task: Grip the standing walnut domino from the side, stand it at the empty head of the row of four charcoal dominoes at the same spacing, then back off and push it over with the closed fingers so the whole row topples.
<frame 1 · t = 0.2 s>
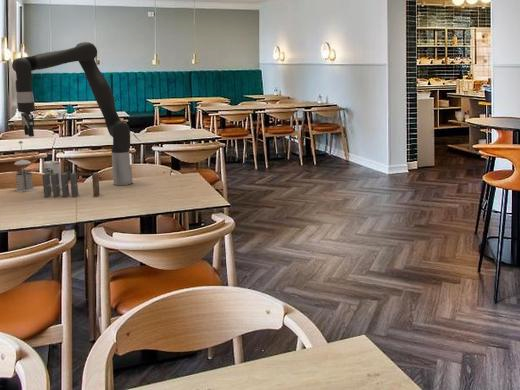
hand: (29, 135, 269), 29 cm above the table, tool pointing down, fingers open, 8 cm apart
syrup box: (54, 190, 286), on the table
walnut tile: (96, 195, 272), on the table
charcoal tile 5: (47, 196, 271), on the table
charcoal tile 3: (66, 196, 271), on the table
charcoal tile 4: (56, 196, 271), on the table
french press: (25, 190, 286), on the table
charcoal tile 2: (75, 195, 271), on the table
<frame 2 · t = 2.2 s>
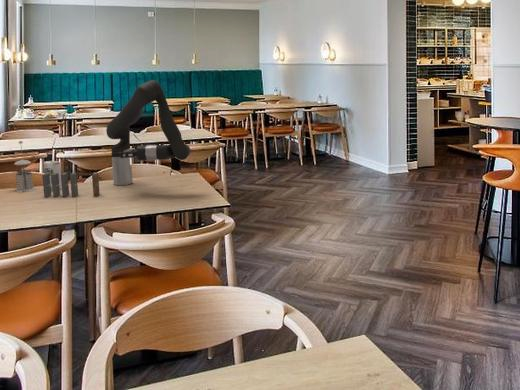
hand: (114, 153, 268), 20 cm above the table, tool horizontal, fingers open, 8 cm apart
nothing on the table moved.
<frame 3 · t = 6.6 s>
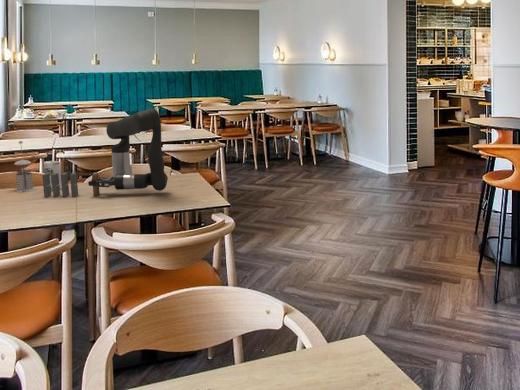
hand: (90, 182, 270), 6 cm above the table, tool horizontal, fingers closed on walnut tile, 5 cm apart
walnut tile: (96, 195, 272), on the table, touching gripper
everything else where it was.
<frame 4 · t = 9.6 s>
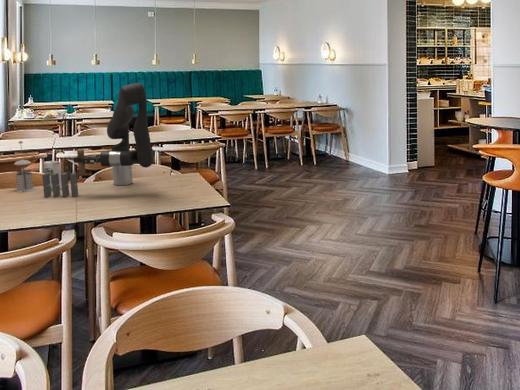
hand: (75, 159, 268), 18 cm above the table, tool horizontal, fingers closed on walnut tile, 5 cm apart
walnut tile: (82, 172, 269), point 11 cm above the table, touching gripper
everything else where it was.
when the fingers open (7 cm above the table, at t = 12.3 s): walnut tile stays where it is, on the table.
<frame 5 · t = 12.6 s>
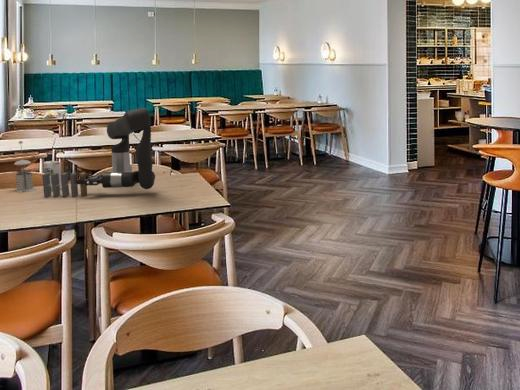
hand: (78, 180, 270), 8 cm above the table, tool horizontal, fingers open, 7 cm apart
walnut tile: (84, 195, 272), on the table
everything else where it was.
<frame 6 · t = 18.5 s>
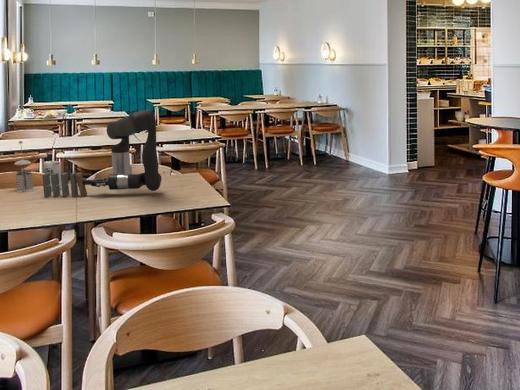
hand: (83, 182, 270), 7 cm above the table, tool horizontal, fingers closed
walnut tile: (84, 195, 272), on the table, tilted 10°
everything else where it was.
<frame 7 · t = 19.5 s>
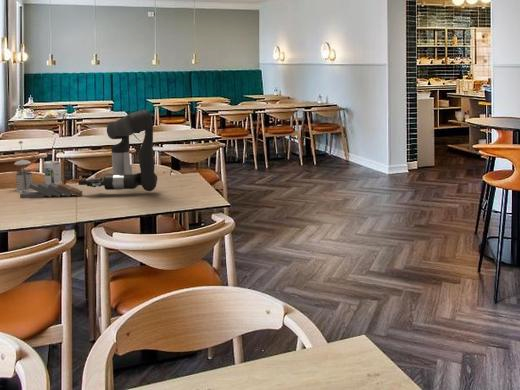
hand: (78, 182, 270), 6 cm above the table, tool horizontal, fingers closed
walnut tile: (80, 194, 272), point 1 cm above the table, tilted 65°, touching charcoal tile 2
charcoal tile 5: (45, 194, 271), point 1 cm above the table, tilted 89°, touching charcoal tile 4
charcoal tile 3: (61, 194, 271), point 1 cm above the table, tilted 63°, touching charcoal tile 2, charcoal tile 4
charcoal tile 4: (52, 194, 271), point 1 cm above the table, tilted 63°, touching charcoal tile 3, charcoal tile 5
charcoal tile 2: (71, 194, 271), point 1 cm above the table, tilted 65°, touching charcoal tile 3, walnut tile
everything else where it was.
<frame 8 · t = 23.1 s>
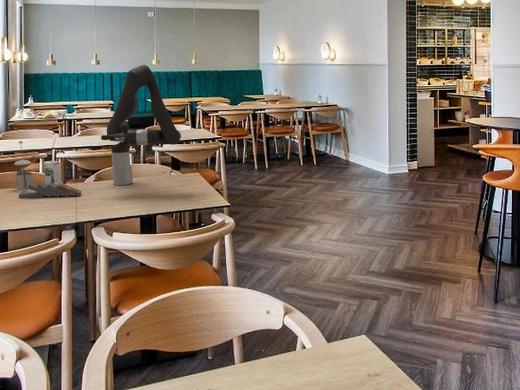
hand: (101, 137, 266), 28 cm above the table, tool horizontal, fingers closed
charcoal tile 3: (60, 194, 271), point 1 cm above the table, tilted 63°, touching charcoal tile 2, charcoal tile 4
at the end: charcoal tile 5 tilted 89°; charcoal tile 3 tilted 63°; walnut tile inside the target area (1.6 cm from its centre), point 0.8 cm above the table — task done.
